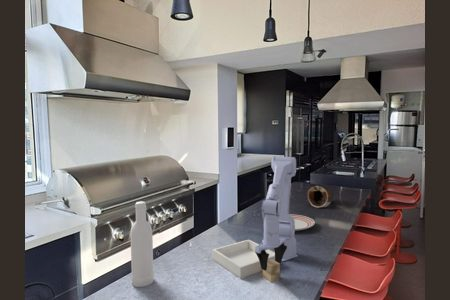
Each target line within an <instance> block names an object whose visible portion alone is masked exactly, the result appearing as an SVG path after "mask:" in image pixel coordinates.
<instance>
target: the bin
mask: <svg viewBox="0 0 450 300" xmlns="http://www.w3.org/2000/svg"><path fill="white" fill-rule="evenodd" d="M258 245H260V243H257V242H254V241H253V240H251V239H246V240H242V241H238V242H235V243H230V244H228V245H224V246H220V247H216V248H213V249H211V250H212V251H211V253H212V261H214V262H215V263H217V264H219V265H220V266H221V267H222V268H224V269H225V270H227V271H229V272H230V273H231V274H233V275H234V276H236V278H238V279H240V280H241V279H244V278H245V279H246V278H247V277H249V276H253V275H255V274H256V275H257V274H258V273H261V272H263V269H261V265H260V261H259V259H258V256H257V254H256V253H255V247H256V246H258ZM265 252H266V253H268V254H270V255H269V257H268V260H270V259H272V260H274V261H275V252H274V250H272V249H267V250H265Z"/></svg>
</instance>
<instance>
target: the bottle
mask: <svg viewBox="0 0 450 300" xmlns="http://www.w3.org/2000/svg"><path fill="white" fill-rule="evenodd" d="M134 204H135V205H134V208H135V222H134V223H133V224H132V226H131V228H130V231H129V232H130V233H129V235H130V257H131V258H130V259H131V260H130V263H131V284H132V285H133V287H136V288H145V287H149V286H150V285H151V284H153V282H154V281H155V280H154V279H155V278H154V274H155V273H154V243H153V241H154V239H153V228H152V225H151V223H150V222H149V221H147V203H146V201H143V200H142V201H136V203H134Z"/></svg>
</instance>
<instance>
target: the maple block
mask: <svg viewBox="0 0 450 300" xmlns="http://www.w3.org/2000/svg"><path fill="white" fill-rule="evenodd" d="M280 270H281V264H280V263H278V262H276V261H274V260H272V259H270V260H268V261H267V270H263V271H262V278H263V279H265V280H266V281H268V282H269V283H273V282H275V281H277V280H280V277H281V276H280V273H281V271H280Z"/></svg>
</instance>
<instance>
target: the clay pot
mask: <svg viewBox="0 0 450 300" xmlns="http://www.w3.org/2000/svg"><path fill="white" fill-rule="evenodd" d="M307 199H308V202H309V204H310V206H312V207H314V208H319V209H320V208H327V207H328V206H329V205H330V204H331V203H332V201H333V199H334V193H333V192H332V190H331V189H330V188H328V187H326V186H324V185H314V186H312V187H310V188H309V189H308V191H307ZM322 200H323V201H322Z"/></svg>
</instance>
